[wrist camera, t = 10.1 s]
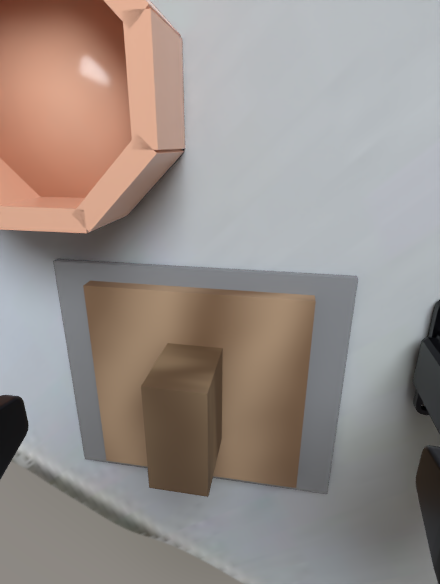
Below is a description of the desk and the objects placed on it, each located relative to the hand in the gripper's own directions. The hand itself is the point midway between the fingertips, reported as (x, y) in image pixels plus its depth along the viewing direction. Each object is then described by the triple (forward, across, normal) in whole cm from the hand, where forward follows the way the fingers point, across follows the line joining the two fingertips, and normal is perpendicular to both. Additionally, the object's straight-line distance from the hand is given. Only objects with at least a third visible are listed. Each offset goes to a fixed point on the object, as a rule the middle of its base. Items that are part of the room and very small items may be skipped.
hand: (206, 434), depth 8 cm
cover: (+12, +3, +7) cm, 14 cm away
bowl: (+12, +9, -8) cm, 17 cm away
